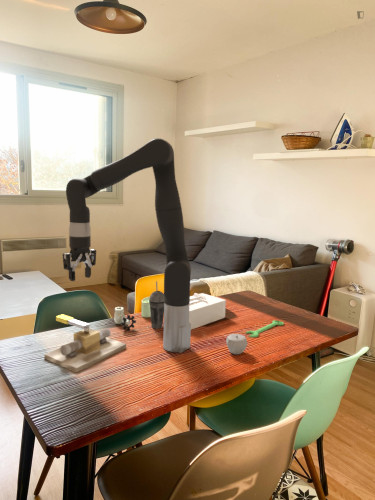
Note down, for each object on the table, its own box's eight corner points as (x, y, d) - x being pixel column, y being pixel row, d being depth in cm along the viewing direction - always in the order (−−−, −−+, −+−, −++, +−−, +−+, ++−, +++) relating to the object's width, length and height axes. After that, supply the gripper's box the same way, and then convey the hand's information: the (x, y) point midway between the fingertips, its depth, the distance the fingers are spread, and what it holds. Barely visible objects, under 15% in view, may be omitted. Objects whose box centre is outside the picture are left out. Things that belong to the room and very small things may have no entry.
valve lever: (91, 331, 131) (91, 323, 131) (85, 333, 129) (85, 326, 128) (62, 321, 139) (62, 314, 139) (56, 323, 137) (56, 316, 136)
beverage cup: (168, 325, 160) (169, 280, 157) (160, 331, 154) (161, 284, 151) (153, 322, 163) (154, 278, 160) (145, 327, 157) (145, 281, 154)
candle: (147, 318, 168) (148, 300, 167) (139, 315, 171) (139, 298, 169) (154, 315, 172) (154, 298, 171) (146, 313, 175) (146, 296, 174)
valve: (110, 322, 162) (121, 332, 152) (110, 308, 161) (121, 316, 151) (124, 320, 165) (136, 329, 156) (124, 305, 164) (136, 313, 154)
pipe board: (126, 347, 137) (126, 328, 136) (76, 372, 118) (76, 350, 117) (95, 337, 146) (95, 318, 144) (44, 358, 126) (43, 337, 125)
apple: (233, 358, 131) (234, 341, 130) (220, 350, 138) (221, 333, 137) (251, 355, 135) (252, 337, 134) (238, 346, 142) (239, 330, 141)
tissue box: (225, 317, 173) (226, 295, 172) (187, 331, 156) (188, 306, 154) (201, 310, 183) (202, 288, 181) (164, 322, 165) (164, 298, 164)
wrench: (242, 336, 154) (253, 340, 150) (242, 332, 154) (253, 336, 150) (275, 321, 171) (286, 324, 168) (276, 317, 171) (286, 320, 167)
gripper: (70, 237, 128) (71, 284, 131) (101, 234, 140) (101, 277, 143) (56, 235, 132) (57, 280, 135) (87, 232, 144) (88, 274, 147)
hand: (80, 278), depth 139 cm, fingers open, 6 cm apart
